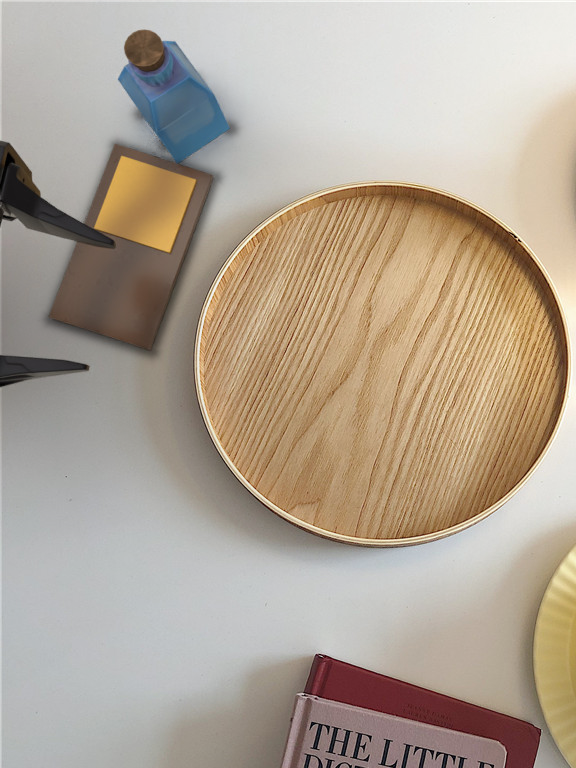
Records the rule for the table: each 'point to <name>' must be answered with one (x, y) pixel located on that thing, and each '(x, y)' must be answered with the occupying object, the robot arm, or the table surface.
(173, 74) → the perfume bottle
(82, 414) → the table surface
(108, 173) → the stand
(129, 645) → the table surface
